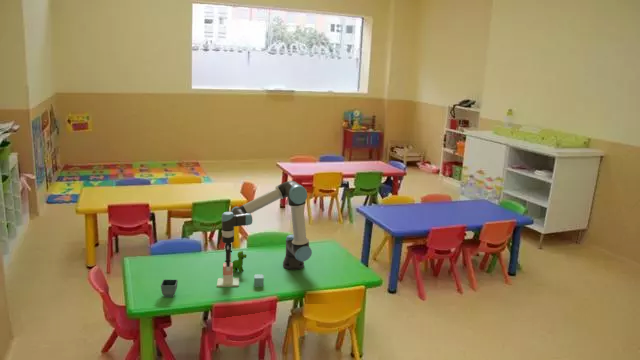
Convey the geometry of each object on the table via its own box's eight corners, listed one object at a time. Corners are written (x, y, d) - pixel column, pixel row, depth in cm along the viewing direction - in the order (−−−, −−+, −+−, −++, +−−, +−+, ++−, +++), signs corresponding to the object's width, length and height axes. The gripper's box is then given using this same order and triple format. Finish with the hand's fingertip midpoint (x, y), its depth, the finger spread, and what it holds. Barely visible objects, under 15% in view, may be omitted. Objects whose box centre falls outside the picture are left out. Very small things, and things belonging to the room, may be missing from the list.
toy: (244, 274, 367) (244, 253, 363) (225, 271, 370) (225, 251, 366) (247, 270, 373) (247, 250, 369) (228, 268, 375) (228, 248, 372)
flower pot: (175, 299, 328) (175, 285, 326) (160, 299, 327) (160, 285, 325) (178, 292, 336) (177, 279, 334) (163, 292, 336) (163, 279, 333)
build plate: (239, 279, 359) (239, 269, 357) (238, 286, 348) (238, 276, 346) (217, 279, 357) (217, 269, 355) (216, 286, 346) (216, 276, 345)
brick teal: (263, 282, 355) (263, 274, 354) (263, 286, 350) (263, 278, 348) (254, 282, 355) (254, 274, 353) (254, 286, 349) (254, 278, 347)
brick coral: (232, 271, 354) (232, 262, 352) (232, 275, 348) (232, 266, 347) (223, 271, 353) (223, 262, 352) (222, 275, 347) (222, 266, 346)
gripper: (223, 229, 356) (223, 258, 361) (221, 243, 332) (221, 274, 337) (234, 229, 357) (235, 258, 362) (233, 242, 333) (233, 274, 338)
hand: (228, 266), depth 350 cm, fingers open, 13 cm apart
